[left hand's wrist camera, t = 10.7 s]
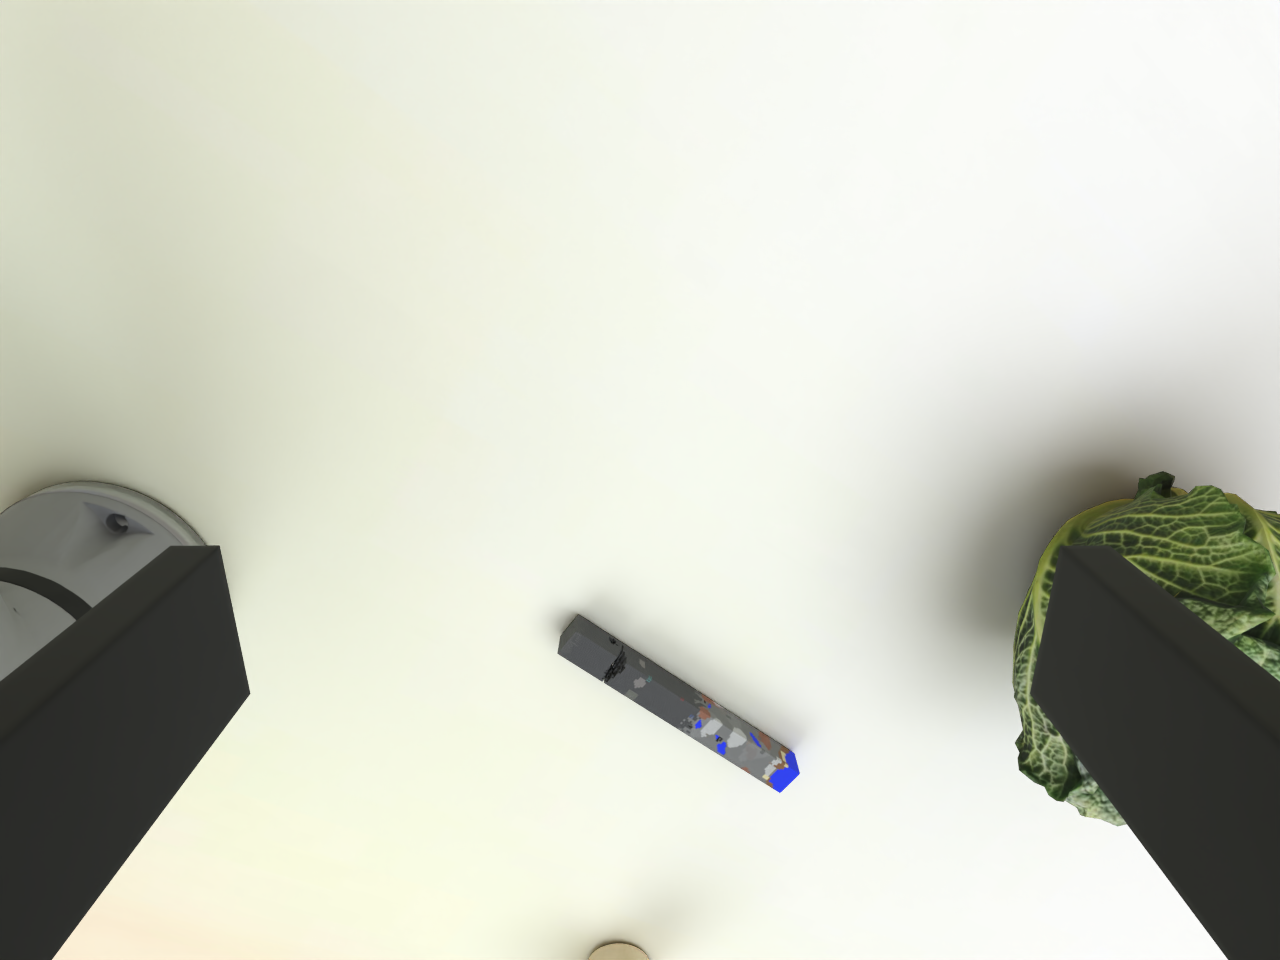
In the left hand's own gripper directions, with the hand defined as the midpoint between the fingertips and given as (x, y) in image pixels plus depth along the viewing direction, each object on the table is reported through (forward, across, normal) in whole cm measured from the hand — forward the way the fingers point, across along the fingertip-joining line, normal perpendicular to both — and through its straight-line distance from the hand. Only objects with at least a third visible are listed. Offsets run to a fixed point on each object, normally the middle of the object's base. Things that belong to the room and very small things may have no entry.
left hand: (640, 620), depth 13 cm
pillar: (+38, -3, +29) cm, 47 cm away
